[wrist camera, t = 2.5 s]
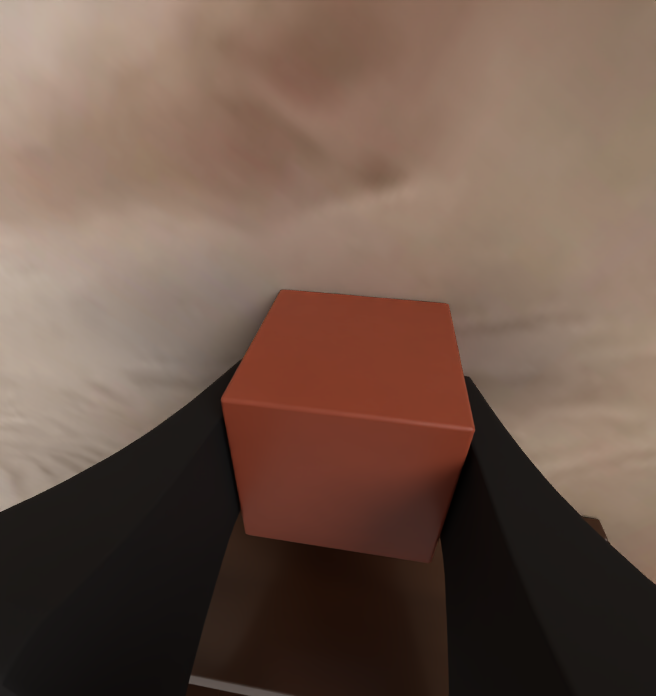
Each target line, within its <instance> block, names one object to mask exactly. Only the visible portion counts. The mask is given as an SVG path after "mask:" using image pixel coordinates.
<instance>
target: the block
mask: <svg viewBox="0 0 656 696" xmlns="http://www.w3.org/2000/svg"><path fill="white" fill-rule="evenodd" d="M221 406H222V411H223V416H224V422H225V427H226V432H227V438H228V443H229V448H230V454H231V459H232V464H233V470H234V475H235V480H236V486H237V491H238V496H239V502H240V507H241V512H242V518H243V523H244V528H245V533H246V534H248V535H252V536H259V537H265V538H271V539H278V540H284V541H290V542H297V543H303V544H309V545H316V546H322V547H328V548H335V549H341V550H347V551H354V552H360V553H366V554H373V555H379V556H385V557H392V558H398V559H404V560H411V561H417V562H423V563H430V562H431V561H432V558H433V555H434V552H435V549H436V546H437V543H438V540H439V537H440V534H441V531H442V528H443V525H444V522H445V519H446V516H447V513H448V510H449V507H450V504H451V501H452V498H453V495H454V492H455V489H456V486H457V483H458V480H459V477H460V474H461V471H462V468H463V465H464V462H465V459H466V456H467V453H468V450H469V447H470V444H471V441H472V438H473V435H474V432H475V426H474V422H473V417H472V412H471V407H470V403H469V398H468V393H467V388H466V384H465V379H464V374H463V370H462V365H461V360H460V355H459V351H458V346H457V341H456V336H455V332H454V327H453V322H452V317H451V313H450V308H449V305H448V304H446V303H435V302H424V301H412V300H400V299H388V298H377V297H365V296H353V295H341V294H330V293H318V292H306V291H294V290H280V292H279V294H278V296H277V297H276V299H275V301H274V303H273V305H272V307H271V308H270V310H269V312H268V314H267V316H266V317H265V319H264V321H263V323H262V325H261V326H260V328H259V330H258V332H257V334H256V336H255V337H254V339H253V341H252V343H251V345H250V346H249V348H248V350H247V352H246V354H245V356H244V357H243V359H242V361H241V363H240V365H239V366H238V368H237V370H236V372H235V374H234V376H233V377H232V379H231V381H230V383H229V385H228V386H227V388H226V390H225V392H224V394H223V395H222V397H221Z"/></svg>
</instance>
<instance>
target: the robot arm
mask: <svg viewBox="0 0 656 696" xmlns="http://www.w3.org/2000/svg"><path fill="white" fill-rule="evenodd" d="M242 359H243V358H242ZM242 359H241V360H240V361H239V362H237V363H236V364H235V365H234V366H233V367H232V368H230V369H229V370H228V371H227V372H226V373H224V374H223V375H222V376H221V377H220V378H219V379H217V380H216V381H215V382H214V383H213V384H212V385H210V386H209V387H208V388H207V389H205V390H204V391H203V392H202V393H200V394H199V395H198V396H197V397H196V398H194V399H193V400H192V401H191V402H189V403H188V404H187V405H186V406H184V407H183V408H181V409H180V410H179V411H177V412H176V413H175V414H173V415H172V416H171V417H169V418H168V419H167V420H165V421H164V422H163V423H161V424H160V425H159V426H157V427H156V428H154V429H153V430H151V431H150V432H148V433H147V434H145V435H144V436H142V437H141V438H139V439H138V440H136V441H134V442H133V443H131V444H130V445H128V446H126V447H125V448H123V449H122V450H120V451H118V452H117V453H115V454H113V455H112V456H110V457H108V458H106V459H105V460H103V461H101V462H99V463H97V464H95V465H94V466H92V467H90V468H88V469H86V470H84V471H83V472H81V473H79V474H77V475H75V476H73V477H72V478H70V479H68V480H66V481H64V482H62V483H60V484H58V485H56V486H54V487H52V488H50V489H48V490H46V491H44V492H42V493H40V494H38V495H36V496H34V497H32V498H30V499H28V500H25V501H23V502H21V503H19V504H17V505H15V506H12V507H10V508H8V509H6V510H4V511H2V512H0V696H186V692H187V688H188V684H189V680H190V676H191V672H192V668H193V665H194V661H195V657H196V653H197V650H198V646H199V642H200V638H201V635H202V631H203V627H204V623H205V620H206V616H207V613H208V609H209V606H210V602H211V599H212V595H213V592H214V588H215V585H216V581H217V578H218V575H219V571H220V568H221V565H222V561H223V558H224V555H225V552H226V548H227V545H228V542H229V539H230V536H231V533H232V531H233V528H234V525H235V522H236V520H237V518H238V515H239V513H240V510H241V507H240V502H239V496H238V491H237V486H236V480H235V475H234V470H233V464H232V459H231V454H230V448H229V443H228V438H227V432H226V427H225V422H224V416H223V411H222V406H221V397H222V395H223V394H224V392H225V390H226V388H227V386H228V385H229V383H230V381H231V379H232V377H233V376H234V374H235V372H236V370H237V368H238V366H239V365H240V363H241V361H242ZM464 379H465V384H466V388H467V393H468V398H469V403H470V407H471V412H472V417H473V422H474V426H475V432H474V435H473V438H472V441H471V444H470V447H469V450H468V453H467V456H466V459H465V462H464V465H463V468H462V471H461V474H460V477H459V480H458V483H457V486H456V489H455V492H454V495H453V498H452V501H451V504H450V507H449V510H448V513H447V516H446V519H445V522H444V525H443V528H442V531H441V534H440V540H441V547H442V555H443V564H444V574H445V594H446V616H447V644H448V676H449V696H656V585H655V584H654V583H653V582H652V581H650V580H649V579H648V578H647V577H646V576H645V575H643V574H642V573H641V572H640V571H639V570H638V569H637V568H636V567H635V566H633V565H632V564H631V563H630V562H629V561H628V560H627V559H626V558H625V557H624V556H622V555H621V554H620V553H619V552H618V551H617V550H616V549H615V548H614V547H613V546H611V545H610V544H609V543H608V542H607V541H606V540H605V539H604V538H603V537H602V536H601V535H600V534H599V533H598V532H597V531H596V530H594V529H593V528H592V527H591V526H590V525H589V524H588V523H587V522H586V521H585V520H584V519H583V518H582V517H581V516H580V515H579V514H578V513H577V511H576V510H575V509H574V508H573V507H572V506H571V505H570V504H569V503H568V502H567V501H566V500H565V499H564V498H563V497H562V496H561V495H560V494H559V493H558V492H557V491H556V490H555V489H554V487H553V486H552V485H551V484H550V483H549V482H548V481H547V480H546V478H545V477H544V476H543V475H542V474H541V472H540V471H539V470H538V469H537V468H536V467H535V465H534V464H533V463H532V462H531V461H530V459H529V458H528V457H527V456H526V454H525V453H524V452H523V451H522V449H521V448H520V447H519V446H518V444H517V443H516V442H515V440H514V439H513V438H512V436H511V435H510V434H509V432H508V431H507V430H506V428H505V427H504V426H503V424H502V423H501V422H500V420H499V419H498V418H497V416H496V415H495V413H494V412H493V410H492V409H491V408H490V406H489V405H488V403H487V402H486V400H485V399H484V397H483V396H482V394H481V393H480V391H479V390H478V388H477V387H476V385H475V384H474V383H473V381H472V380H471V379H470V377H467V376H464Z"/></svg>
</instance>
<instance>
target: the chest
mask: <svg viewBox="0 0 656 696" xmlns="http://www.w3.org/2000/svg"><path fill="white" fill-rule="evenodd" d="M582 518H583V519H584V520H585V521H586V522H587V523H588V524H589V525H590V526H591V527H592V528H593V529H594V530H596V531H597V532H598V533H599V534H600V535H601V536H602V537H603V538H604V539H605V540H606V541H607V542H608V543H609V541H608V539H607V537H606V534H605V532H604V530H603V528H602V525H601V523H600V521H599V520H598V519H591V518H584V517H582ZM609 544H610V543H609ZM186 696H449V676H448V644H447V616H446V594H445V574H444V564H443V555H442V547H441V540H440V537H439V540H438V543H437V546H436V549H435V552H434V555H433V558H432V561H431V562H430V563H423V562H417V561H411V560H404V559H398V558H392V557H385V556H379V555H373V554H366V553H360V552H354V551H347V550H341V549H335V548H328V547H322V546H316V545H309V544H303V543H297V542H290V541H284V540H278V539H271V538H265V537H259V536H252V535H248V534H246V533H245V528H244V523H243V518H242V512H241V510H240V513H239V515H238V518H237V520H236V522H235V525H234V528H233V531H232V533H231V536H230V539H229V542H228V545H227V548H226V552H225V555H224V558H223V561H222V565H221V568H220V571H219V575H218V578H217V581H216V585H215V588H214V592H213V595H212V599H211V602H210V606H209V609H208V613H207V616H206V620H205V623H204V627H203V631H202V635H201V638H200V642H199V646H198V650H197V653H196V657H195V661H194V665H193V668H192V672H191V676H190V680H189V684H188V688H187V692H186Z"/></svg>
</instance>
